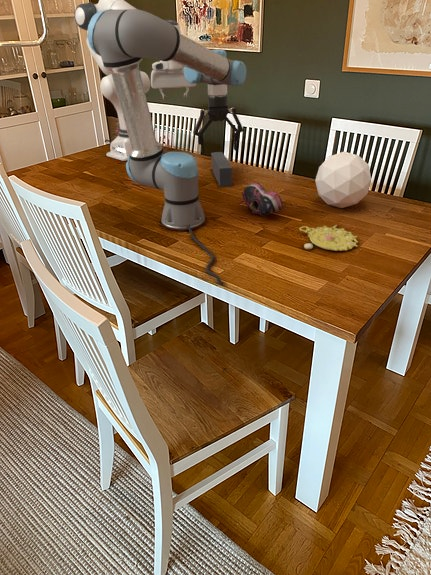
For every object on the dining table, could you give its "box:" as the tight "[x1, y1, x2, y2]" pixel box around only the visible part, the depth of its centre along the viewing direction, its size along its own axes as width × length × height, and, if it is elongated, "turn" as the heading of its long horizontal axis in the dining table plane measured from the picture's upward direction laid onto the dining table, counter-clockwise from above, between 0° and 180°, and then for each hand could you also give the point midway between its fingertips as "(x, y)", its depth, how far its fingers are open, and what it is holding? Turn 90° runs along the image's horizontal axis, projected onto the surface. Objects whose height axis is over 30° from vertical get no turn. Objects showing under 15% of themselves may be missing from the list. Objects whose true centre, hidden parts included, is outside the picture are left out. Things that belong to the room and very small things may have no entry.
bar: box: [210, 151, 233, 188], centre depth 193 cm, size 24×5×8 cm, turn 9°
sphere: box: [314, 151, 372, 209], centre depth 160 cm, size 19×20×20 cm
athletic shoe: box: [238, 182, 284, 217], centre depth 160 cm, size 11×22×12 cm
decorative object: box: [299, 224, 359, 252], centre depth 141 cm, size 21×2×20 cm
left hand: (174, 98), depth 197 cm, fingers open, 8 cm apart
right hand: (219, 151), depth 181 cm, fingers open, 13 cm apart
